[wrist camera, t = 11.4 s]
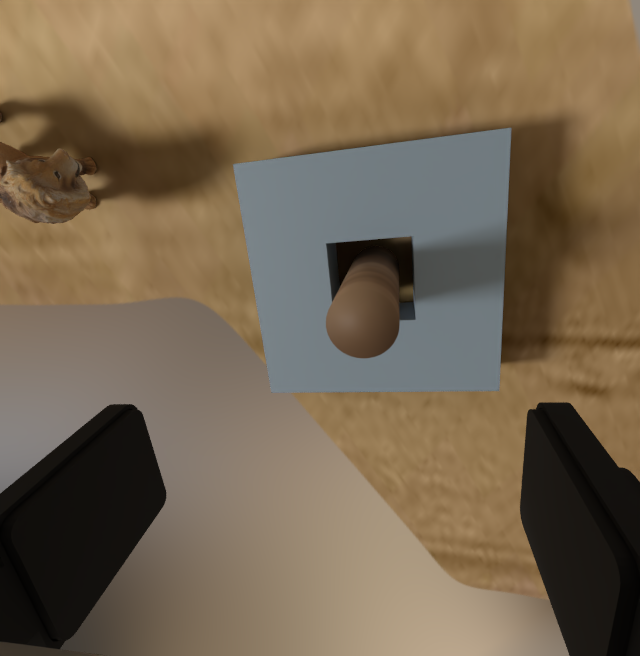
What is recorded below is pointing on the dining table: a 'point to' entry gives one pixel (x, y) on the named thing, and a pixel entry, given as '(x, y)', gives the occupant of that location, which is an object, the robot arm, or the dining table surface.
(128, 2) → the dining table surface
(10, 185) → the lion figurine
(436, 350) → the socket block
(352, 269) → the peg
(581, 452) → the robot arm
